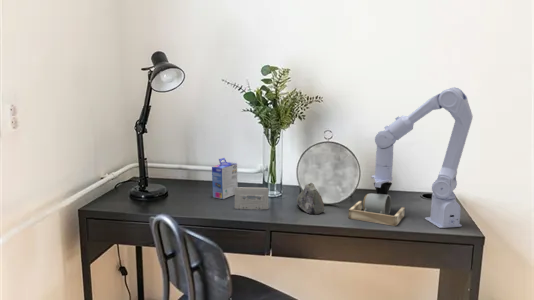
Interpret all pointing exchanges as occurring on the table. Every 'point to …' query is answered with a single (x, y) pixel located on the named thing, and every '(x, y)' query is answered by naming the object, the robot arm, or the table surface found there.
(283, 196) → the table surface
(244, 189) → the cassette
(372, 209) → the ceramic mug
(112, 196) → the table surface
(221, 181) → the ink cartridge box
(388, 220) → the bracket
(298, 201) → the mineral rock
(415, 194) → the table surface
